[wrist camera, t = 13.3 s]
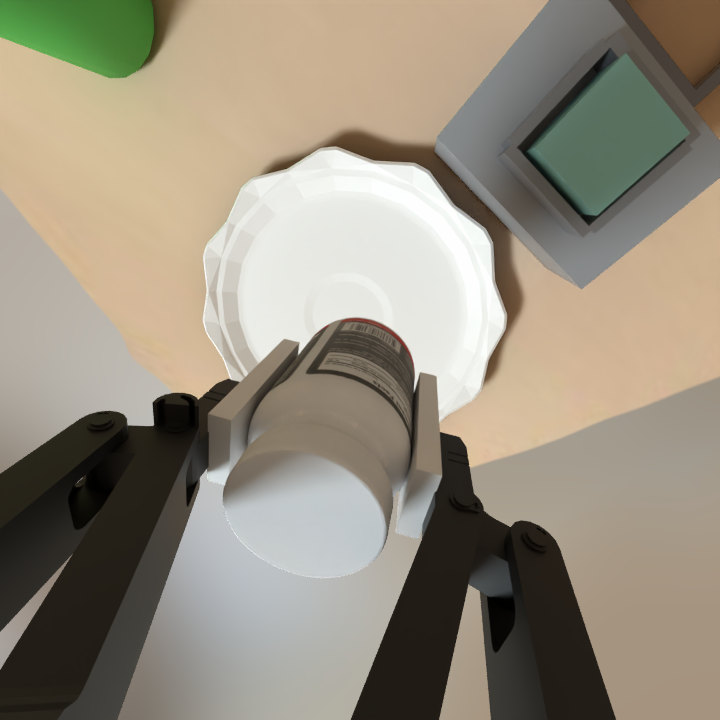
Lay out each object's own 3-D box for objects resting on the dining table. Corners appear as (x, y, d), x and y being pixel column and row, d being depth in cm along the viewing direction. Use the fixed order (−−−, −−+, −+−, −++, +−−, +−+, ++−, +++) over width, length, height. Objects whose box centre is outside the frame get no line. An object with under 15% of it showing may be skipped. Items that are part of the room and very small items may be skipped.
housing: (726, -200, 21) (980, -535, 11) (857, -2, 23) (1162, -143, 13) (434, 151, 30) (438, 130, 20) (546, 268, 32) (597, 298, 23)
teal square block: (598, 73, 20) (625, 53, 17) (655, 141, 20) (690, 132, 18) (521, 154, 22) (535, 147, 19) (576, 213, 22) (596, 215, 20)
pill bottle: (336, 426, 20) (267, 603, 12) (287, 339, 19) (160, 466, 10) (433, 395, 19) (439, 575, 10) (388, 295, 17) (345, 403, 8)
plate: (567, 313, 34) (576, 321, 31) (361, 475, 46) (358, 489, 43) (327, 68, 29) (319, 58, 27) (169, 320, 41) (154, 327, 39)
